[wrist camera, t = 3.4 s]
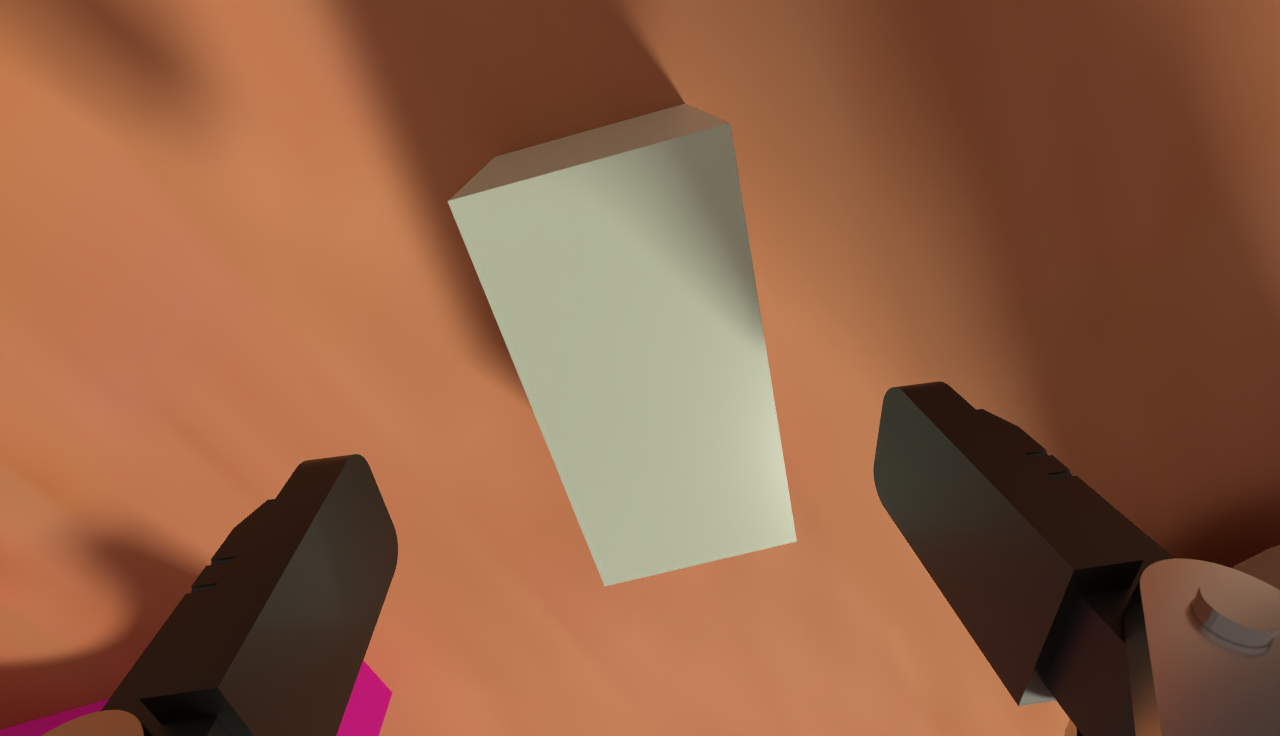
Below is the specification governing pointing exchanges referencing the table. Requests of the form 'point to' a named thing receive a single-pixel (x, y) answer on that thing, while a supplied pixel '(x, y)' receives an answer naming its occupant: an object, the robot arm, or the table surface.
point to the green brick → (637, 335)
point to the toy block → (354, 732)
